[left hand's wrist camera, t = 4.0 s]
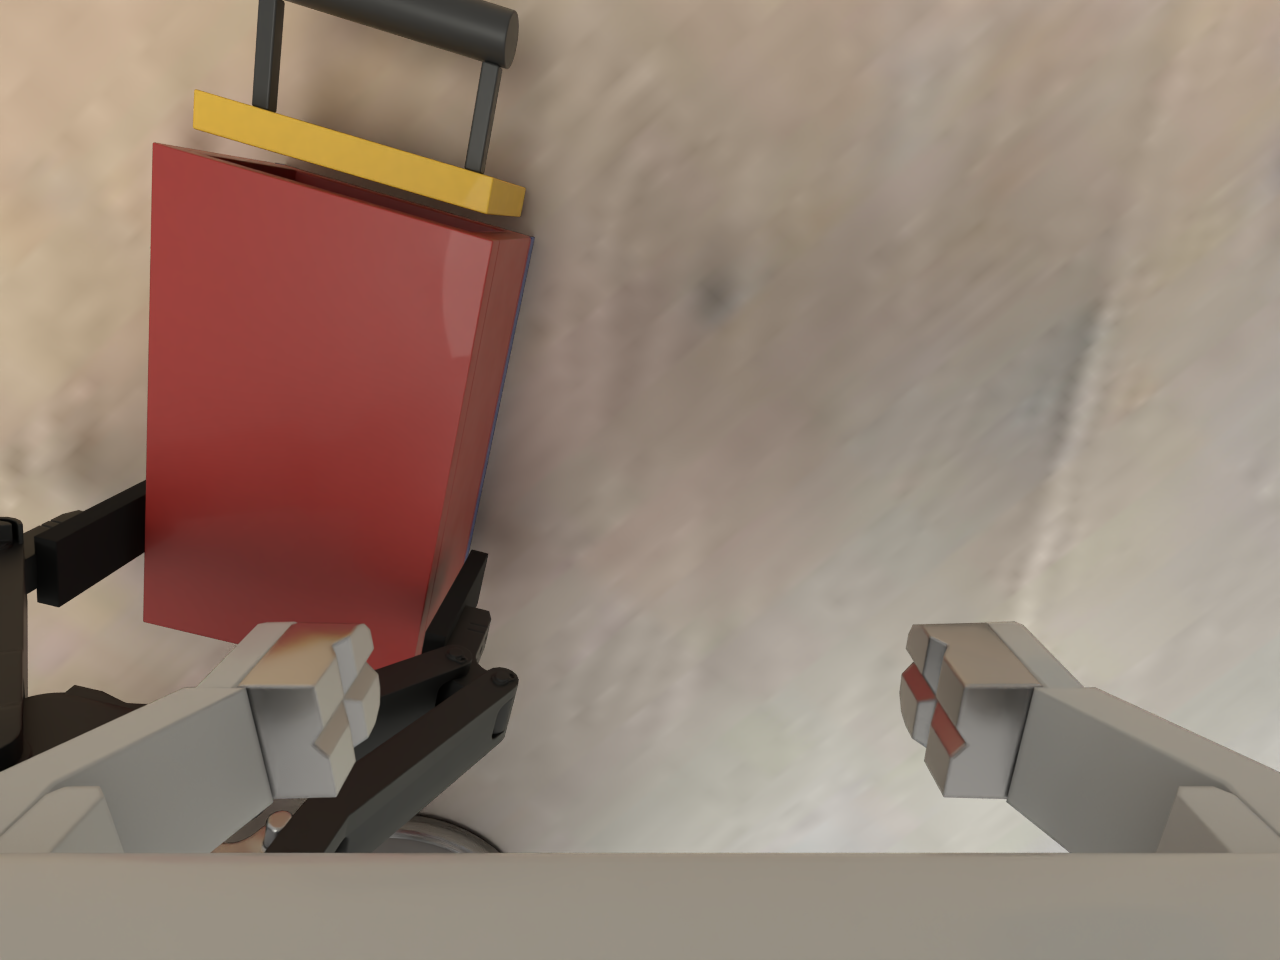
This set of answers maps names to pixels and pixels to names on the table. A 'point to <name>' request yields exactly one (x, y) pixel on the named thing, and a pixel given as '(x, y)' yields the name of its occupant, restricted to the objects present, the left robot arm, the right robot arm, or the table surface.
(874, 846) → the table surface
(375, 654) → the red case
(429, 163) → the drawer
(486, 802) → the table surface
